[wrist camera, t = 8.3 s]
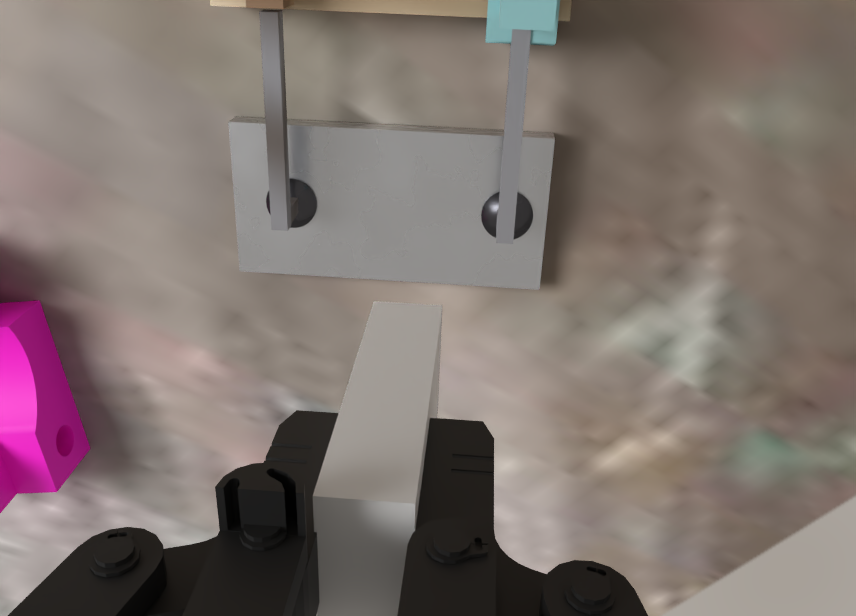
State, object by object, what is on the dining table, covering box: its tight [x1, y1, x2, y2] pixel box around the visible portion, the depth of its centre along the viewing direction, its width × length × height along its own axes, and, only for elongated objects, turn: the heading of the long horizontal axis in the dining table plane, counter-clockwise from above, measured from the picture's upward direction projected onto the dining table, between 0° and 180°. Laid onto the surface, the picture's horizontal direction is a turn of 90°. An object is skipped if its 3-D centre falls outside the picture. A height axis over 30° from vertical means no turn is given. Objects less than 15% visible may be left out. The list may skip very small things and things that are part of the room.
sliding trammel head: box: [486, 0, 560, 244], centre depth 35 cm, size 14×3×8 cm, turn 178°
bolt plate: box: [229, 117, 555, 290], centre depth 41 cm, size 8×16×1 cm, turn 88°
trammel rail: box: [210, 0, 572, 231], centre depth 37 cm, size 13×16×4 cm
